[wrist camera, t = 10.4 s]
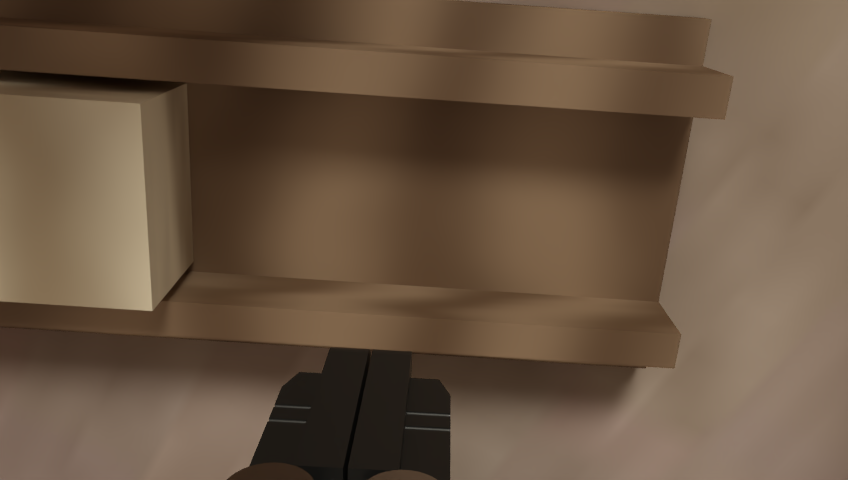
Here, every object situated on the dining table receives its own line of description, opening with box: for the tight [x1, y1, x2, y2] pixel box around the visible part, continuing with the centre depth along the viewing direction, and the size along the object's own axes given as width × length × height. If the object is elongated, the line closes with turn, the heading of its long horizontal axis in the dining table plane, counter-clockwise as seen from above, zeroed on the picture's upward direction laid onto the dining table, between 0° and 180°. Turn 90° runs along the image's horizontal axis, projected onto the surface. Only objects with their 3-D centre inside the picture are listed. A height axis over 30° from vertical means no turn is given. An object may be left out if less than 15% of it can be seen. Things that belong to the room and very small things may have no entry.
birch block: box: [0, 70, 194, 311], centre depth 23 cm, size 6×6×4 cm
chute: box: [0, 0, 733, 368], centre depth 24 cm, size 28×12×3 cm, turn 86°
